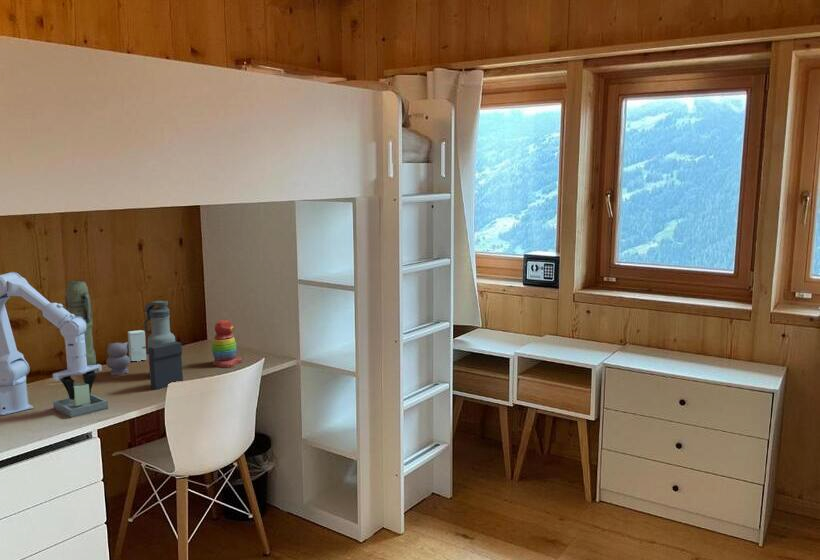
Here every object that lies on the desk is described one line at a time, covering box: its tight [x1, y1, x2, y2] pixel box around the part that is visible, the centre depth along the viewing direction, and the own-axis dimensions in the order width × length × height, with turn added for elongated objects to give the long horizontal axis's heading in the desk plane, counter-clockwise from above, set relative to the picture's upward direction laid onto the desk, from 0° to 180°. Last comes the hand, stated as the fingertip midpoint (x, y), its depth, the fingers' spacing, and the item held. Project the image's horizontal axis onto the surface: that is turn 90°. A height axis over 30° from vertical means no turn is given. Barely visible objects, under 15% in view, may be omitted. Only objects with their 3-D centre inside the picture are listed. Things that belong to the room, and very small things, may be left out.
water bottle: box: [143, 300, 176, 369], centre depth 258 cm, size 10×10×28 cm
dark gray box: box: [147, 340, 184, 390], centre depth 245 cm, size 11×4×15 cm, turn 141°
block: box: [70, 381, 90, 406], centre depth 222 cm, size 4×4×6 cm
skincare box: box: [127, 329, 147, 362], centre depth 281 cm, size 6×4×12 cm
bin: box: [52, 393, 109, 419], centre depth 222 cm, size 12×14×2 cm
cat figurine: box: [105, 341, 131, 376], centre depth 262 cm, size 8×8×12 cm
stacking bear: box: [211, 318, 243, 369], centre depth 273 cm, size 11×10×18 cm
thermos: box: [64, 279, 97, 366], centre depth 265 cm, size 9×12×35 cm
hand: (79, 396), depth 222 cm, fingers closed on block, 4 cm apart
